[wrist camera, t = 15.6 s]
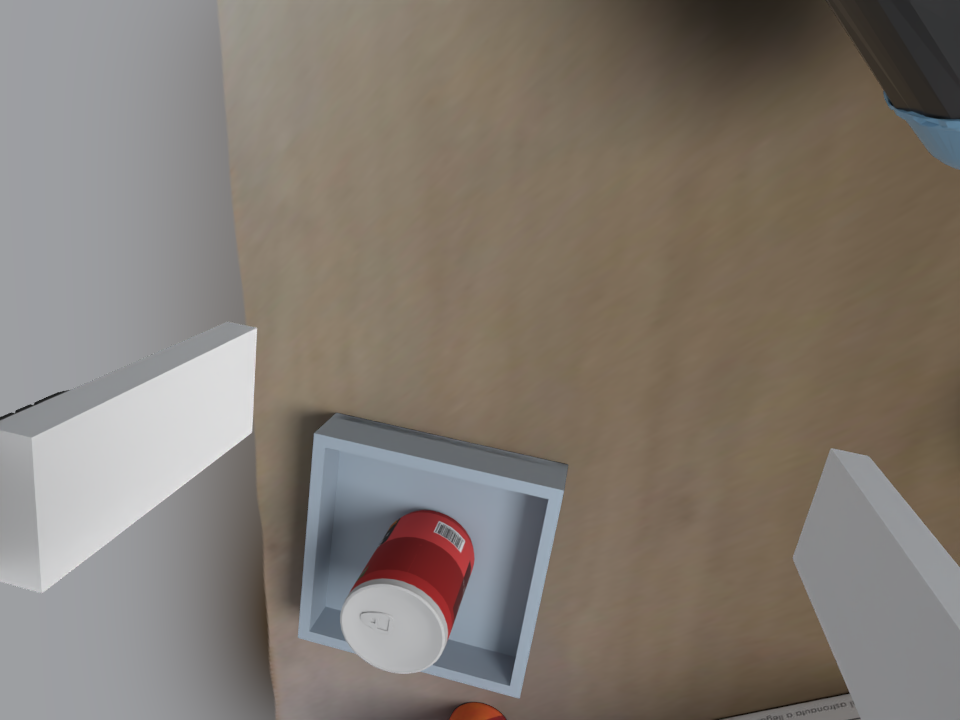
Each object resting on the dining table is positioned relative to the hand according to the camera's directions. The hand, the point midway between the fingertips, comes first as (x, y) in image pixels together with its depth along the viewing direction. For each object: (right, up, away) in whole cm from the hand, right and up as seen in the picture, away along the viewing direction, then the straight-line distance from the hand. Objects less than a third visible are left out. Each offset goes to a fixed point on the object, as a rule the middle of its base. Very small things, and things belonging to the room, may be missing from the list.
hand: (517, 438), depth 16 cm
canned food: (-5, -14, +44) cm, 46 cm away
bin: (-5, -14, +44) cm, 47 cm away
